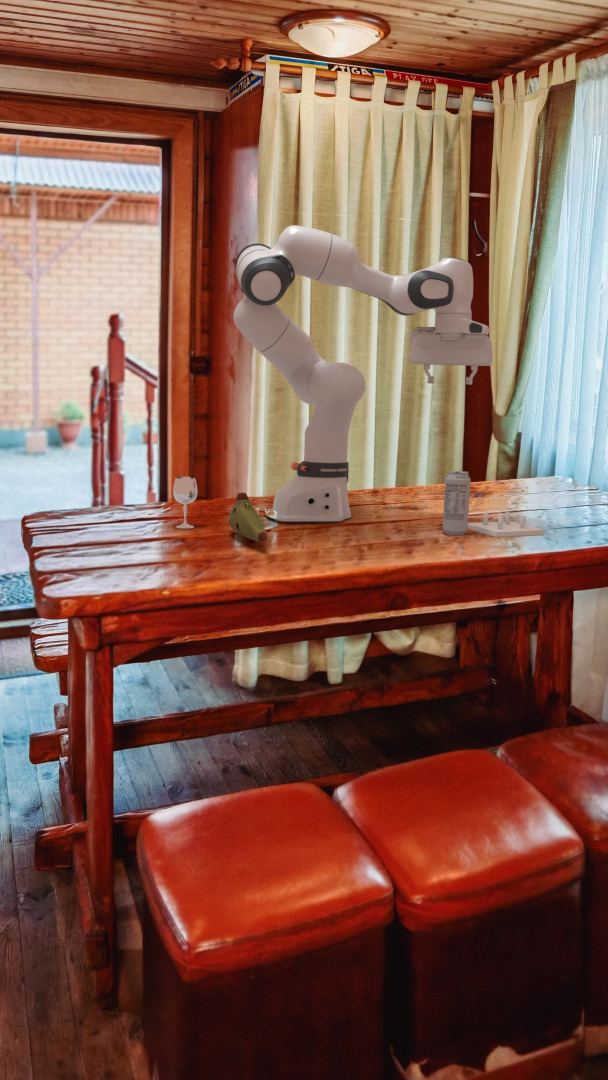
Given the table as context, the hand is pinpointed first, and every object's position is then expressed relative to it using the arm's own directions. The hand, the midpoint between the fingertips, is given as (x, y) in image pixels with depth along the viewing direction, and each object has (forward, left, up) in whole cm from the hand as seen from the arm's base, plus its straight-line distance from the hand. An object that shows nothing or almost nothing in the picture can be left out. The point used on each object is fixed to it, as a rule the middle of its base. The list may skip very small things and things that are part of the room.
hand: (449, 384), depth 224 cm
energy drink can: (-3, -11, -36) cm, 38 cm away
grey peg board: (+11, -11, -36) cm, 39 cm away
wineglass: (-64, +13, -36) cm, 75 cm away
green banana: (-54, -4, -36) cm, 65 cm away
